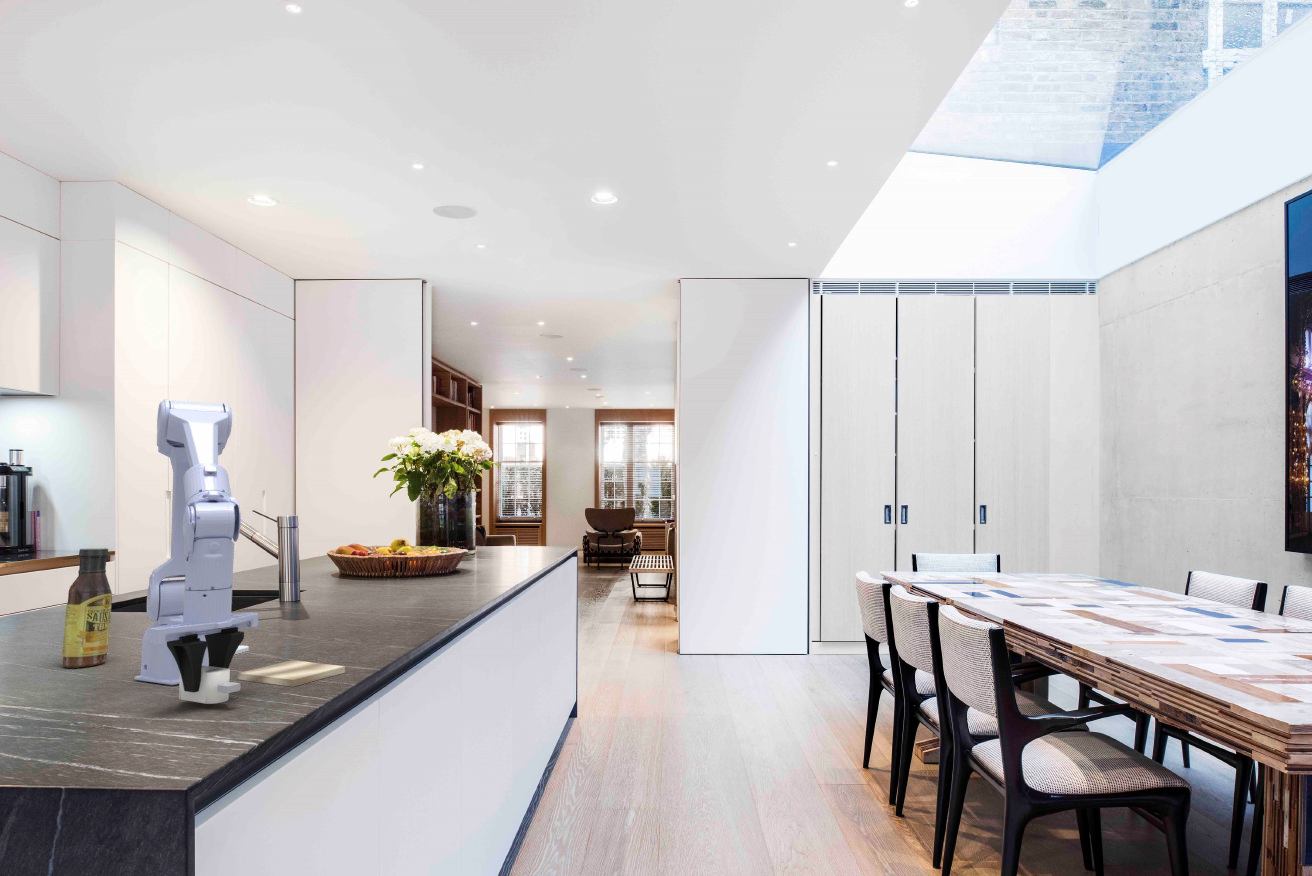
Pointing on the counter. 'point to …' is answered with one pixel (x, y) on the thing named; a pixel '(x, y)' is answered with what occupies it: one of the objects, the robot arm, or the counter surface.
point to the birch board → (291, 673)
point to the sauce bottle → (88, 612)
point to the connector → (211, 686)
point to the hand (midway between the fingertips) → (204, 688)
